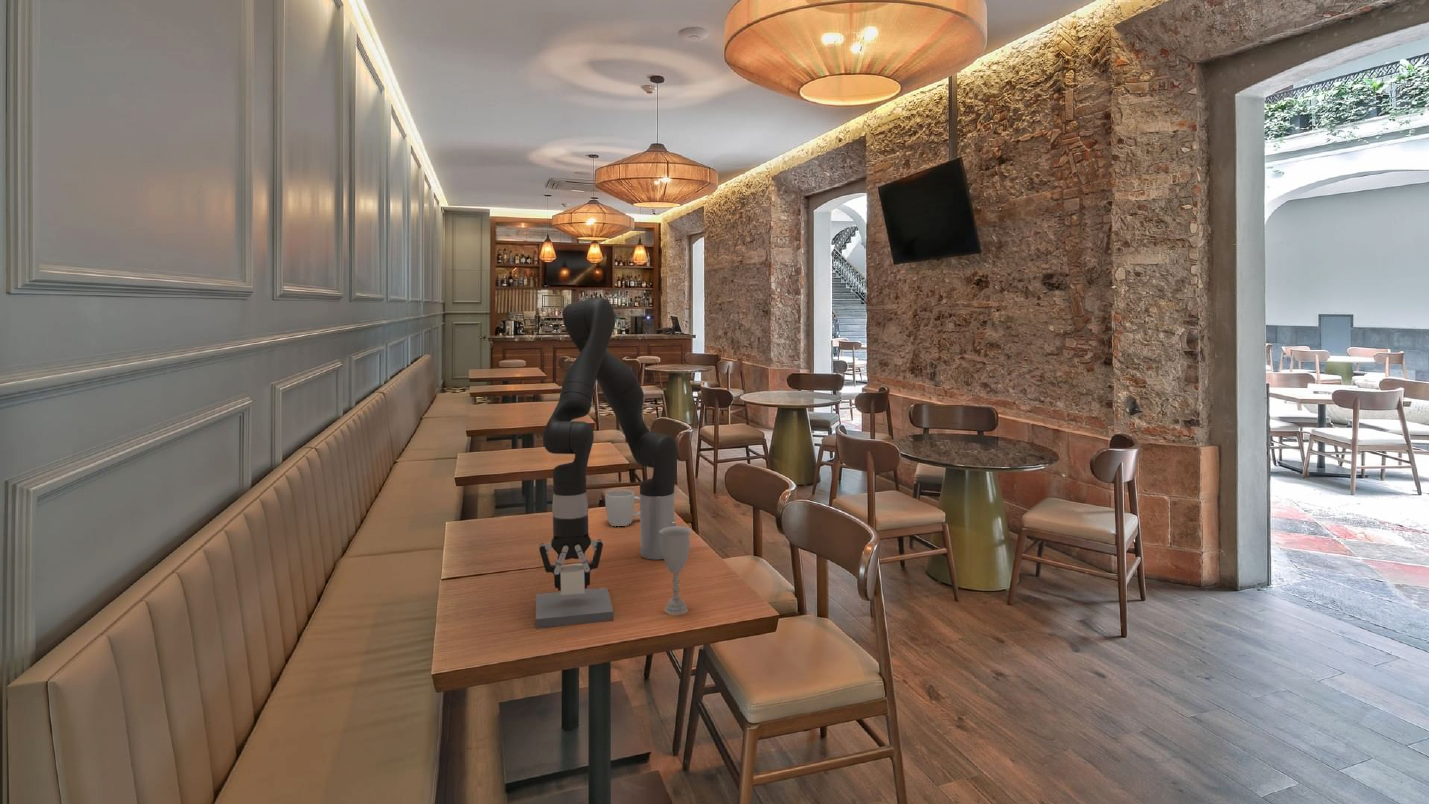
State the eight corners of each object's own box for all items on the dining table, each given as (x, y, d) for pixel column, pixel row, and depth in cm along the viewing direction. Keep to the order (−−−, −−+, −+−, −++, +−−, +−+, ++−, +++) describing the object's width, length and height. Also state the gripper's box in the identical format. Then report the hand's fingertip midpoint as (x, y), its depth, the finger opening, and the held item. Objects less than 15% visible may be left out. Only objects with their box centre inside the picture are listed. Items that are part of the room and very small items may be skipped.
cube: (583, 585, 160) (582, 563, 159) (584, 593, 155) (584, 571, 154) (560, 586, 159) (559, 565, 158) (561, 595, 154) (560, 572, 153)
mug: (612, 530, 217) (611, 498, 216) (601, 523, 225) (600, 491, 224) (650, 523, 224) (649, 492, 223) (638, 517, 232) (637, 486, 230)
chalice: (679, 619, 153) (678, 537, 151) (653, 612, 156) (652, 532, 154) (698, 607, 159) (697, 529, 157) (673, 601, 162) (672, 524, 160)
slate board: (607, 595, 166) (607, 587, 166) (613, 620, 152) (613, 611, 152) (536, 602, 162) (536, 594, 162) (536, 628, 149) (535, 619, 148)
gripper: (602, 506, 160) (603, 579, 162) (536, 510, 157) (538, 585, 159) (605, 515, 153) (606, 591, 155) (536, 519, 149) (538, 597, 151)
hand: (572, 588), depth 157 cm, fingers closed on cube, 5 cm apart
